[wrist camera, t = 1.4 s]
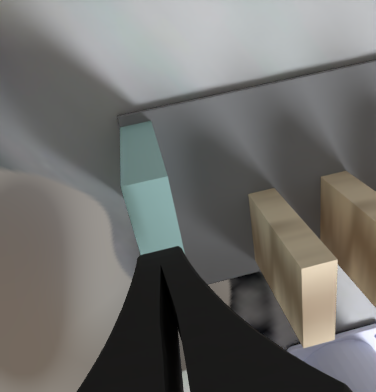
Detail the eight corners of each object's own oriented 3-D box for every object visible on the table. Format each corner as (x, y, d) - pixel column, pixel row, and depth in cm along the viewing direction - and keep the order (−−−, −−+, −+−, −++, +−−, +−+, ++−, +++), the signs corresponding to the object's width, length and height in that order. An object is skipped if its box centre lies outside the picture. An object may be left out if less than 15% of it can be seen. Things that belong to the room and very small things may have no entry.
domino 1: (170, 204, 21) (192, 287, 14) (142, 211, 20) (153, 297, 14) (150, 120, 18) (167, 176, 12) (119, 127, 18) (120, 187, 12)
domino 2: (278, 254, 24) (334, 339, 17) (255, 260, 23) (303, 348, 17) (274, 187, 21) (337, 259, 15) (248, 193, 21) (301, 268, 15)
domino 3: (342, 238, 24) (420, 316, 18) (320, 243, 24) (390, 324, 18) (346, 170, 22) (436, 234, 15) (320, 176, 21) (401, 243, 15)
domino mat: (468, 213, 25) (473, 216, 25) (164, 291, 24) (165, 295, 24) (512, 29, 20) (519, 30, 19) (117, 115, 18) (117, 117, 18)
